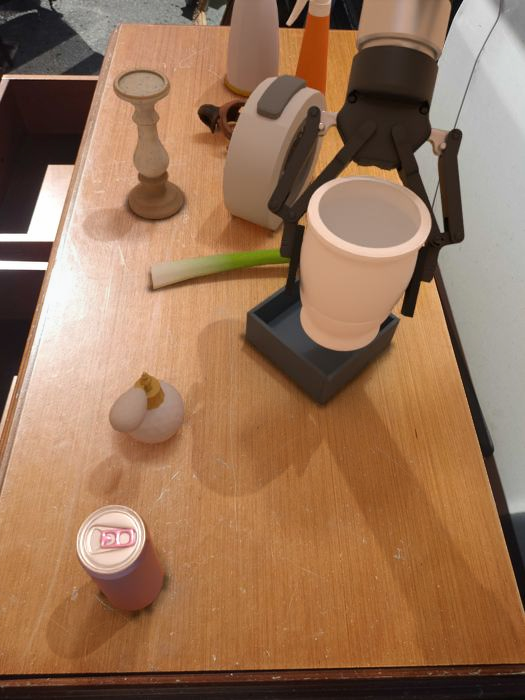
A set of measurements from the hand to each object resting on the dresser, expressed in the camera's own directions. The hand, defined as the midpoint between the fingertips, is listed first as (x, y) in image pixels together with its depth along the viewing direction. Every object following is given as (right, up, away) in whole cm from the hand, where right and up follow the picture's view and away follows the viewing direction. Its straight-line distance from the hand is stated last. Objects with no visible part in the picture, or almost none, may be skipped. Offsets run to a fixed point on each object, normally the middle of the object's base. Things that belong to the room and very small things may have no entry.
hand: (347, 305), depth 53 cm
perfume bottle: (-21, -14, +15) cm, 29 cm away
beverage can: (-21, -28, +5) cm, 36 cm away
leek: (-9, +7, +31) cm, 33 cm away
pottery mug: (-14, +34, +50) cm, 62 cm away
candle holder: (-25, +20, +39) cm, 50 cm away
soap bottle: (-10, +50, +61) cm, 79 cm away
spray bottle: (-1, +40, +54) cm, 67 cm away
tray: (0, -3, +24) cm, 24 cm away
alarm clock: (-6, +21, +40) cm, 46 cm away
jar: (0, -1, +7) cm, 7 cm away
